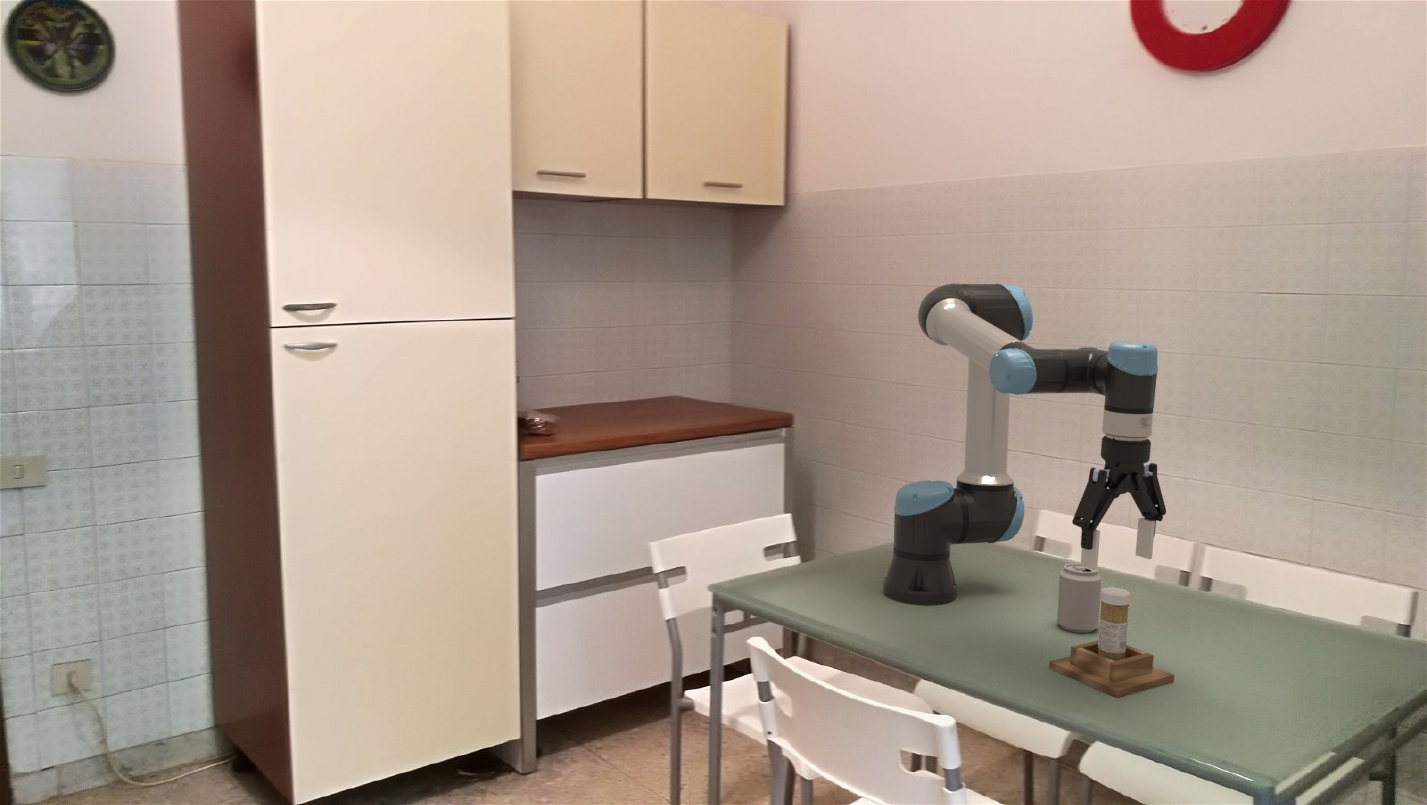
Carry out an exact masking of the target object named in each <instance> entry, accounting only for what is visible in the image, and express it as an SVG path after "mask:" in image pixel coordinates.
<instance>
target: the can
mask: <svg viewBox="0 0 1427 805" xmlns="http://www.w3.org/2000/svg"><path fill="white" fill-rule="evenodd" d="M1101 590H1102V575H1100V573H1099V568H1097V570H1092V569H1089V568H1086V567H1083V566H1081V562H1079V563H1078V562H1076V563H1074V562H1070V563H1066V564H1064V565H1063V569H1062V570H1061V571H1060V572H1059V583H1058V597H1057V599H1058V600H1057V601H1058V602H1057V616H1056V618H1057V620H1056V622H1057V623H1058V625H1059V626H1060V627H1061V628H1062V629H1064V630H1066V631H1069V632H1072V633H1078V634H1085V633H1086V634H1087V633H1092V632H1094V631H1095V630H1096V629H1097V628H1099V623H1100V607H1101Z"/></svg>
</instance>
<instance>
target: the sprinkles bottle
mask: <svg viewBox="0 0 1427 805" xmlns="http://www.w3.org/2000/svg"><path fill="white" fill-rule="evenodd" d="M1130 603H1131V593H1130V591H1128V590H1126V589H1124V588H1119V587H1112V586H1111V587H1109V586H1108V587H1104V588H1101V590H1100V614H1099V626H1098V628H1099V629H1098V637H1097V638H1098V654H1099V655H1101V656H1104V657H1106V658H1109V659H1111V660H1114V661H1118V660H1122V659H1125V651H1126V645H1127V638H1128V625H1129V624H1128V623H1129V621H1128V620H1129V619H1128V618H1129V607H1130Z"/></svg>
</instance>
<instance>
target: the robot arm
mask: <svg viewBox="0 0 1427 805" xmlns="http://www.w3.org/2000/svg"><path fill="white" fill-rule="evenodd" d="M1031 304H1032V303H1031V302H1030V300H1029V297H1028V296H1027V295H1026V293H1025V292H1024V291H1023V289H1022V288H1020V287H1018V286H1016V285H1012V284H1005V283H1004V284H1001V283H948V284H943V285H941V286H938V287H935V288H934V289H932V290H931V291H930V292H928V294H926V296H925V297H924V298H923V299H922V301H921V303H920V305H919V308H918V312H917V319H918V325H919V329H921V332H923V334H924V335H925V336H926V337H927V338H928V339H929V340H931V341H932V342H934V343H936V344H938V345H940V346H943V347H944V346H945V347H947V346H949V347H951V348H953V349H954V350H955V351H957V352H959V353H960V354H962V355H963V356H964V357H965V358H967V359H968V365H967V366H968V368H967V392H966V395H967V397H966V415H965V416H966V417H965V418H966V421H965V422H966V425H965V446H964V470H963V471H962V472H961V473H960V474H959V475H958V476H957V477H956V487H955V488H954V487H953V484H952V483H950V482H947V481H944V480H921V481H914V482H909V483H906V484H905V485H902V486H901V487H900V488H899V489H897V492H896V494H895V503H894V507H893V512H894V523H893V524H894V525H893V550H892V551H893V553H892V554H893V555H892V559H891V561H890V564H889V566H888V571H887V574H886V576H885V577H884V580H883V588H882V589H883V594H885V596H887V597H889V598H891V599H892V600H895V601H899V602H903V603H909V604H915V605H941V604H942V605H943V604H947V603H950V602H953V601H955V600H956V599H957V597H958V584H957V582H956V579H955V574H954V571H953V566H952V563H951V557H950V556H951V545H962V544H963V545H965V544H981V543H982V544H986V543H988V544H994V543H995V544H996V543H1000V542H1006V541H1010V540H1012V539H1014V537H1015V536H1016V535H1018V533H1020V532H1019V531H1020V530H1021V528H1022V526H1023V523H1024V518H1025V502H1024V500H1023V498H1024V497H1023V495H1022V492H1021V491H1020V490H1019V489H1018V488H1017V487H1016V486H1014V484H1015V480H1014V479H1013V478H1012V477H1011V475H1009V474H1008V472H1007V471H1008V470H1007V468H1008V447H1009V446H1008V445H1009V424H1010V420H1009V419H1010V401H1011V400H1010V399H1011V398H1010V396H1011V395H1016V396H1018V395H1019V396H1021V395H1029V394H1032V395H1034V394H1035V395H1036V394H1041V395H1042V394H1096V395H1100V396H1104V406H1103V415H1102V416H1103V418H1102V426H1101V427H1102V428H1101V432H1102V433H1103V434H1104V436H1103V437H1102V438H1101V445H1100V446H1101V448H1100V457H1101V459H1102V460H1103V461H1104V462H1105V463H1104V467H1103V468H1102V469H1101V468H1097V467H1090V470H1089V474H1088V475H1089V476H1088V481H1087V483H1086V486H1085V489H1084V490H1083V493H1082V496H1081V498H1080V501H1079V504H1078V506H1077V508H1076V511H1075V513H1074V516H1073V518H1072V525H1074V526H1076V527H1078V528H1080V529H1081V536H1080V547H1081V556H1080V557H1081V558H1080V563H1081V566H1083V567H1086V568H1089V569H1092V570H1097V569H1098V565H1099V564H1098V562H1099V550H1100V549H1099V548H1100V536H1101V530H1100V529H1099V530H1098V529H1097V528H1098V527H1099V526H1100V523H1101V522H1102V520H1103V518H1104V517H1105V516H1106V514H1107V512H1108V510H1109V509H1110V507H1111V505H1112V504H1113V502H1114V500H1115V499H1118V498H1119V496H1120V495H1124V494H1127V493H1129V494H1130V495H1131V497H1132V500H1133V502H1134V503H1135V505H1136V506H1137V509H1138V510H1139V512H1140V514H1141V516H1142V517H1139V518H1138V519H1137V520H1138V522H1137V532H1136V542H1135V543H1136V544H1135V545H1136V546H1135V556H1137V557H1140V558H1144V559H1147V560H1152V559H1153V551H1154V550H1153V549H1154V540H1155V539H1154V538H1155V535H1156V528H1157V527H1156V525H1157V522H1162V521H1163V519H1164V516H1165V515H1166V514H1167V508H1166V504H1165V500H1164V497H1163V493H1162V489H1161V486H1160V482H1159V479H1158V464H1157V463H1154V462H1150V459H1151V447H1152V441H1151V440H1150V439H1149V437H1151V436H1152V431H1153V416H1154V415H1153V414H1154V408H1155V399H1156V390H1157V389H1156V388H1157V379H1158V378H1157V377H1158V372H1159V366H1158V352H1159V350H1158V348H1157V346H1156V345H1154V344H1153V343H1150V342H1140V341H1114V342H1113V341H1112V343H1110V344H1109V346H1108V350H1104V349H1099V348H1097V347H1091V346H1090V347H1085V346H1083V347H1082V346H1080V347H1075V348H1069V349H1067V348H1066V349H1065V348H1061V349H1060V348H1057V349H1056V348H1052V349H1051V348H1034V347H1032V346H1030V345H1029V344H1026V343H1024V342H1022V341H1024V340H1026V339H1027V338H1028V337H1029V336H1030V335H1031V331H1032V329H1033V325H1034V324H1033V320H1034V318H1033V317H1034V315H1033V308H1032V305H1031Z"/></svg>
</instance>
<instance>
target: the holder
mask: <svg viewBox="0 0 1427 805" xmlns="http://www.w3.org/2000/svg"><path fill="white" fill-rule="evenodd" d="M1048 668H1049V669H1050V670H1052V671H1054V672H1057V673H1059V674H1061V675H1064V676H1066V677H1069V678H1071V679H1073V680H1075V681H1078V682H1080V683H1082V684H1085V685H1087V686H1089V687H1091V688H1094V689H1096V690H1098V691H1100V692H1103V693H1105V694H1107V695H1110V696H1112V697H1114V698H1116V699H1118V698H1121V697H1125V696H1129V695H1132V694H1136V693H1139V692H1142V691H1146V690H1149V689H1153V688H1156V687H1159V686H1161V687H1162V686H1164V685H1166V684H1171V683H1174V682H1175V674H1173V673H1171V672H1168V671H1166V670H1163V669H1160V668H1159V667H1155V666H1154V654H1152V653H1148V652H1146V651H1145V650H1141V649H1139V648H1136V647H1132V646H1131V645H1128V644H1126V651H1125V659H1122V660H1118V661H1114V660H1111V659H1109V658H1106V657H1104V656H1101V655H1099V654H1098V640H1094V641H1088V642H1085V643H1081V644H1076V645H1073V646H1070V656H1065V657H1062V658H1057V659H1054V660H1050V661H1049V662H1048Z"/></svg>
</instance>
